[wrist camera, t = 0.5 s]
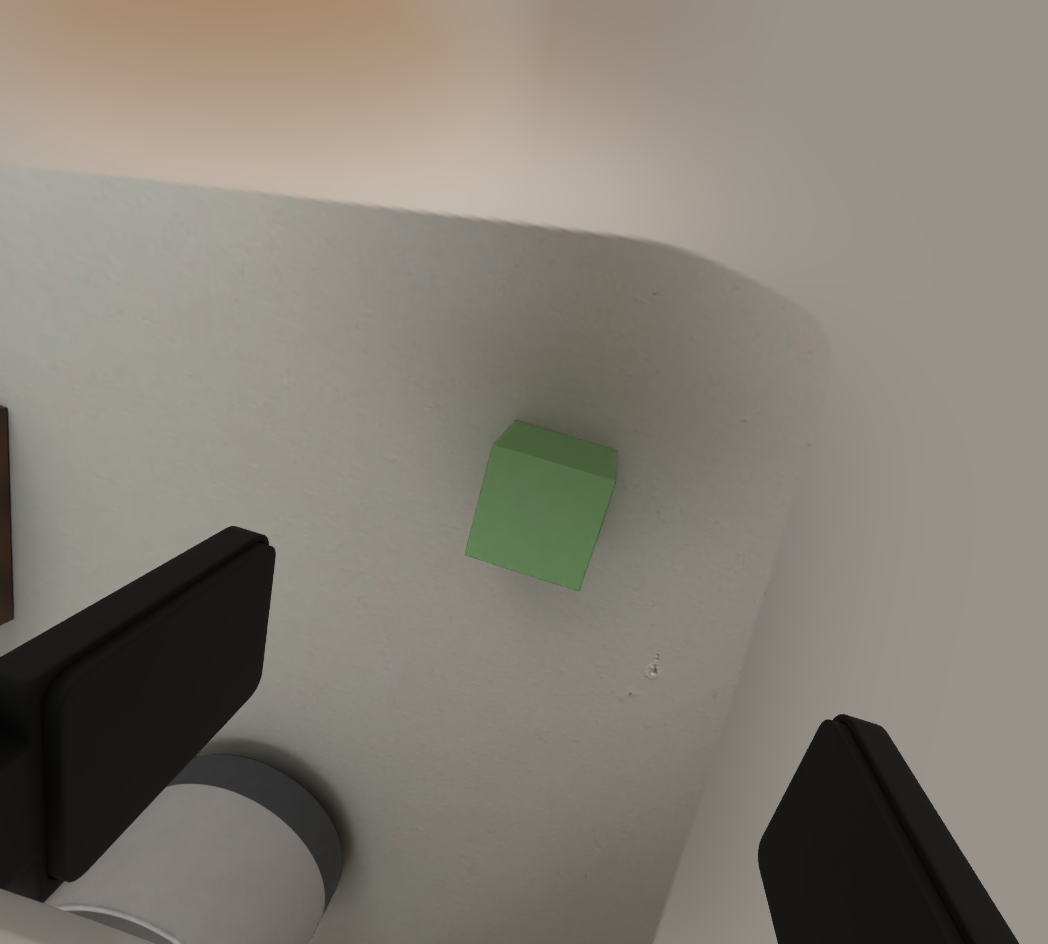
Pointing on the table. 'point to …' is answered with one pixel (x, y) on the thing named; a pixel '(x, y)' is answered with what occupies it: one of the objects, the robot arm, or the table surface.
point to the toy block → (542, 504)
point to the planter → (216, 861)
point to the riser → (5, 526)
